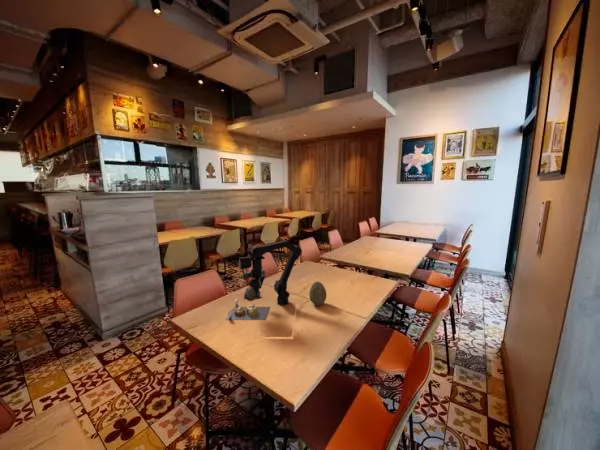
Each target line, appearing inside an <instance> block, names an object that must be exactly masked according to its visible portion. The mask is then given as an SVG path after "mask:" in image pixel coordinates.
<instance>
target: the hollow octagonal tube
mask: <svg viewBox="0 0 600 450" xmlns="http://www.w3.org/2000/svg"><path fill="white" fill-rule="evenodd" d="M250 305H252V304H249V305H247V306H246V307H247V315H249V316H254V315H256V314H257V313H258V307H259V306H258V305H257V304H253V305H254V308H251V307H250Z"/></svg>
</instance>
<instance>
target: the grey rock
mask: <svg viewBox="0 0 600 450" xmlns="http://www.w3.org/2000/svg"><path fill="white" fill-rule="evenodd" d="M243 296H244V298H243V299H244V300H246V299H247V300H248V299H250V300H258V299H259V298H260V297H261V290H259V292H258V295H256V294H255V291H254V289H253V287H250V286H249V285H248V286H247V287H246V289H245V291H244V295H243Z"/></svg>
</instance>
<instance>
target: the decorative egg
mask: <svg viewBox="0 0 600 450" xmlns="http://www.w3.org/2000/svg"><path fill="white" fill-rule="evenodd" d="M308 293H309V300H310V302H311V303H312V304H313V305H315V306H321V305H323V304H324V303H325V302H326V301H327V290H326V288H325V285H323V283H322V282H321V281H315V282H314V283H312V284H311V287H310V289H309V291H308Z"/></svg>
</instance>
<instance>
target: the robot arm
mask: <svg viewBox="0 0 600 450" xmlns="http://www.w3.org/2000/svg"><path fill="white" fill-rule="evenodd" d="M283 248H286V249H287V250H288V258H287V262H286V263H285V266H284V268H283V270H282V273H281V276H280V278H279V280H278V279H277V280H275V281H274V282H275V283H274V285H273V290H274V292H275V293H276V294H277V295H278V296H277V299H276V303H277V305H281V306H285V305H289V298H290V293H289V292H288V291H287V287H288V279H289V278H290V276H291V273H292V271H293V268H294V265H295V263H296V261H297V260H298V259H299V258H300V256H301V254H302V252H303V251H302V248H301V247H300V246H298V245H295V244H292V243H291V242H289V241H288V240H286V239H283V240H280V241H276V242H272V243H267V244H255V245H252V246H251V248H250V251H249V253H248V254H247V256H244V257H243V256H242V257H239V259H238V268H239V270H241V271H242V270H247V269H250V268H251V269H250V270H248V271H245V272H244V273H242V278H243V279H244V280H247V279H250V278H251V279H250V280H249V282H248V287H249V286H250V287H253V289H254V291H255V294H256V295H258V292H259V291H260V289H262V287H263V283H264V281H265V278H266V274H267V273H266V271H265V270H263V269H264V268H263V267H264V266H263V260H265V259H266V257H265V256H264V255H265V254H266V253H268V252H273V251H277V250H280V249H283Z"/></svg>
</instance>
